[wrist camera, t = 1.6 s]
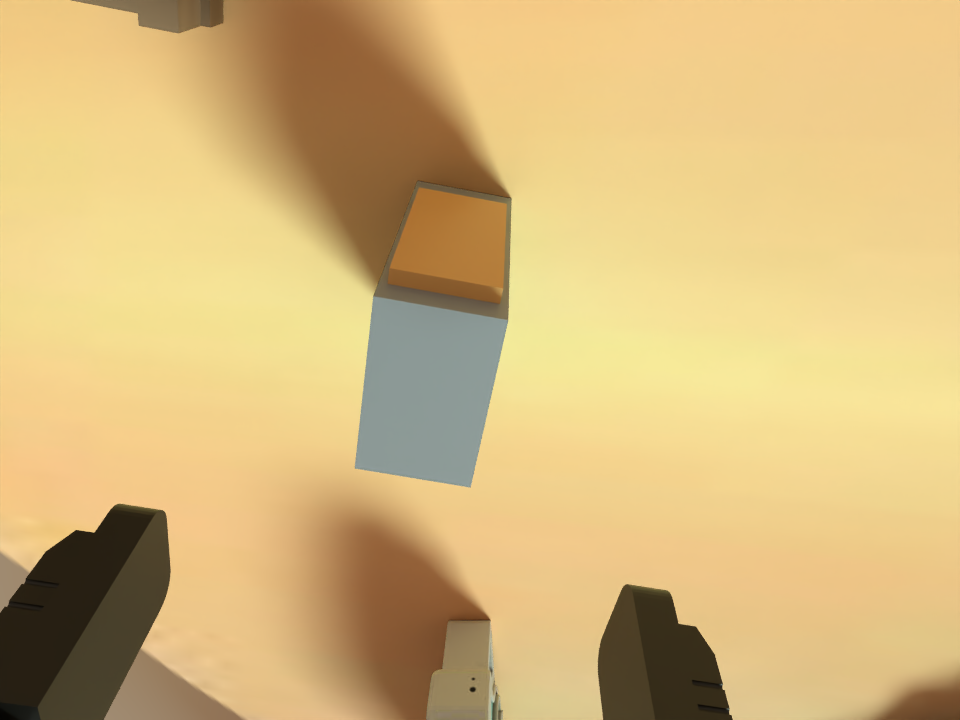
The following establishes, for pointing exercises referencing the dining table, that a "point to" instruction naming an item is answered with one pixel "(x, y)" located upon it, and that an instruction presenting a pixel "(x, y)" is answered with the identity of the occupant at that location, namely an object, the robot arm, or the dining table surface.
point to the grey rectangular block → (436, 336)
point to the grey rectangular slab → (465, 675)
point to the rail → (169, 12)
